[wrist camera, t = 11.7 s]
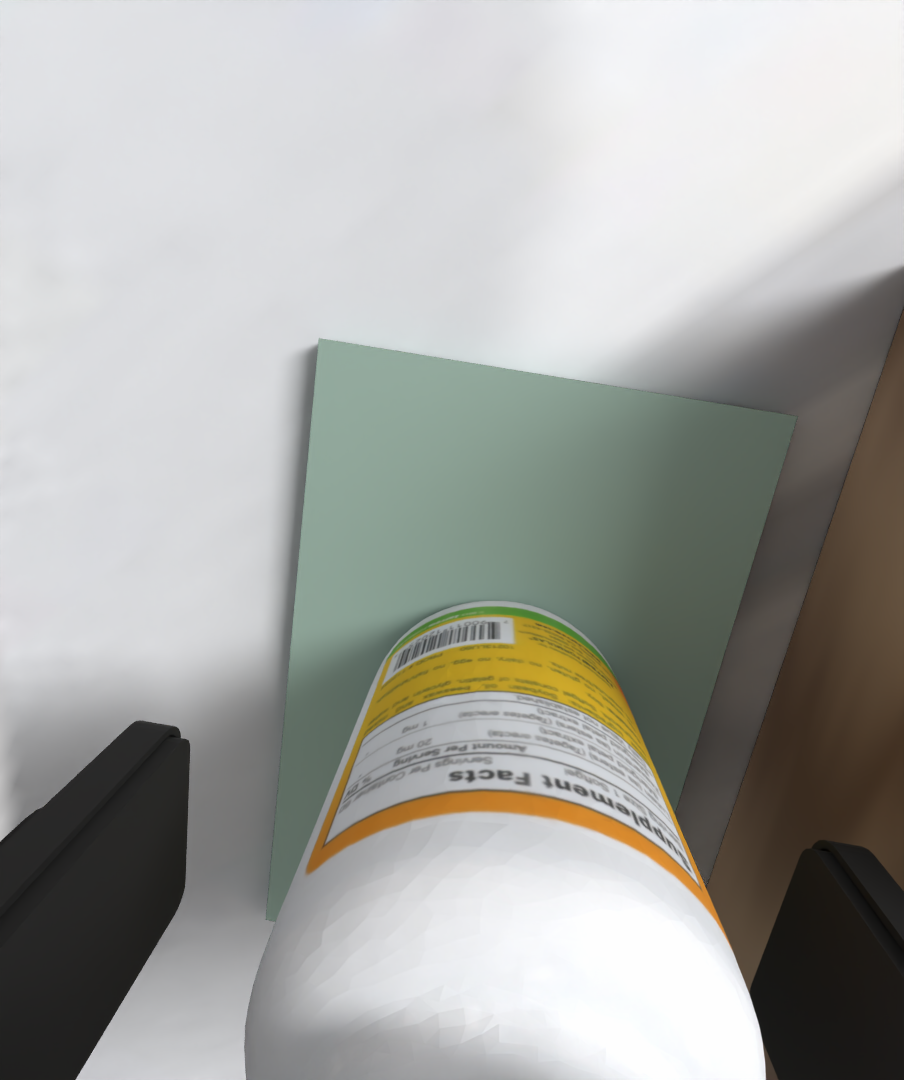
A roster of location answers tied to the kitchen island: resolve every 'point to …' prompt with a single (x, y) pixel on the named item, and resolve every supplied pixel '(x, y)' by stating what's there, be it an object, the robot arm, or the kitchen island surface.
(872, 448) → the box
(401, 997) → the supplement bottle
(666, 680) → the mat
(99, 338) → the kitchen island surface
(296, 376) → the kitchen island surface
